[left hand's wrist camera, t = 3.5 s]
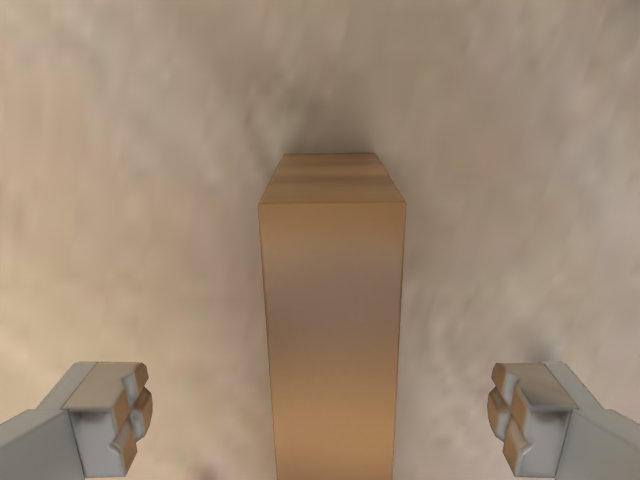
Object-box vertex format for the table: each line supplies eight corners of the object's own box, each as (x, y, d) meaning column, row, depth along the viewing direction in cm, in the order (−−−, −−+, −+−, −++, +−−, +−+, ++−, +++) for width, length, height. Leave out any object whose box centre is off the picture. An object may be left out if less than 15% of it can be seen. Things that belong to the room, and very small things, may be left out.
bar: (282, 154, 23) (257, 203, 14) (375, 152, 23) (406, 201, 14) (300, 529, 32) (291, 695, 24) (366, 529, 32) (381, 696, 24)
